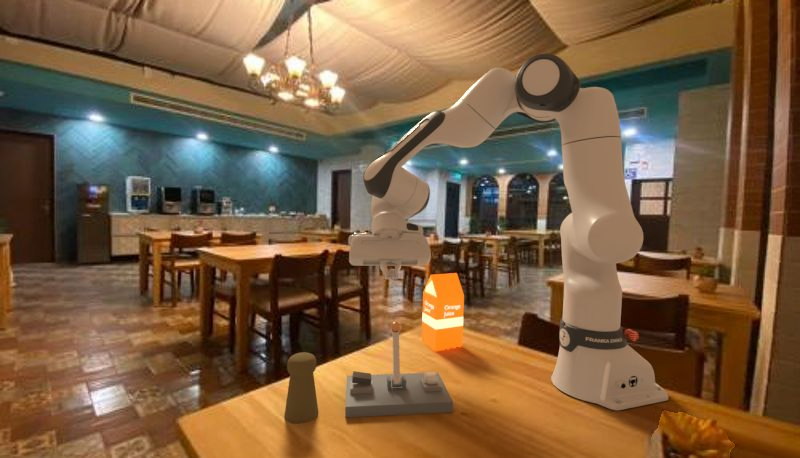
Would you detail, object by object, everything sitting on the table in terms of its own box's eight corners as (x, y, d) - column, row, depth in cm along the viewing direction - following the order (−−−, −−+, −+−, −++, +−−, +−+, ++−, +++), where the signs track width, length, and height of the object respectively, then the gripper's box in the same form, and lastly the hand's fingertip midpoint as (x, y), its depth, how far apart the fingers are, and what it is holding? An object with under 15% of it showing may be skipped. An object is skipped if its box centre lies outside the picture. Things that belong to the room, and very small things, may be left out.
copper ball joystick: (401, 386, 73) (400, 321, 77) (403, 387, 71) (401, 321, 75) (390, 386, 73) (389, 322, 77) (391, 387, 71) (390, 321, 75)
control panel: (438, 381, 80) (438, 363, 80) (452, 412, 68) (453, 391, 68) (346, 384, 77) (346, 366, 77) (345, 417, 65) (345, 396, 65)
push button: (435, 378, 75) (435, 371, 75) (438, 384, 72) (438, 377, 72) (423, 378, 74) (423, 371, 74) (425, 384, 72) (425, 377, 72)
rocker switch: (369, 379, 73) (370, 373, 73) (370, 385, 71) (371, 379, 71) (352, 376, 72) (353, 371, 72) (352, 382, 70) (353, 376, 70)
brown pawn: (309, 425, 63) (310, 364, 62) (277, 420, 64) (278, 360, 63) (323, 406, 69) (324, 350, 68) (294, 402, 70) (294, 347, 69)
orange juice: (421, 341, 103) (423, 272, 102) (447, 337, 107) (449, 270, 106) (435, 351, 96) (437, 277, 95) (462, 347, 100) (465, 275, 98)
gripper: (348, 224, 91) (347, 270, 82) (428, 226, 93) (435, 270, 84) (348, 240, 96) (347, 285, 86) (424, 241, 98) (430, 285, 89)
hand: (391, 278), depth 85 cm, fingers closed
